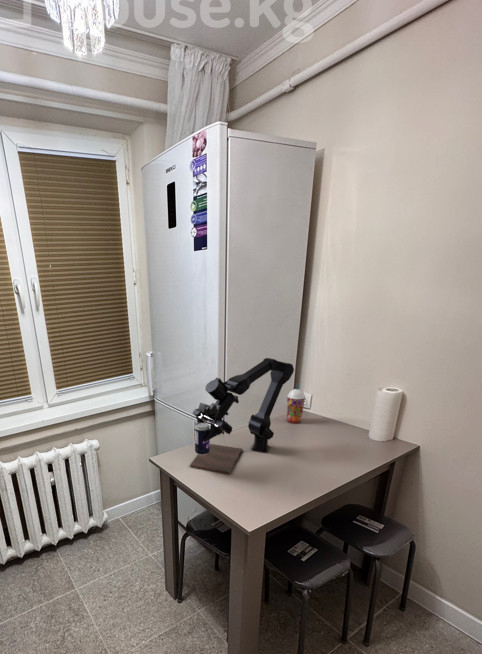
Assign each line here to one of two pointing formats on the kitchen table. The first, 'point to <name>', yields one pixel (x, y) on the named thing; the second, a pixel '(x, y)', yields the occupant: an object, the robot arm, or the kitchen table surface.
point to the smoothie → (295, 405)
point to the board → (217, 459)
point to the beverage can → (201, 439)
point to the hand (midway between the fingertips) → (199, 438)
